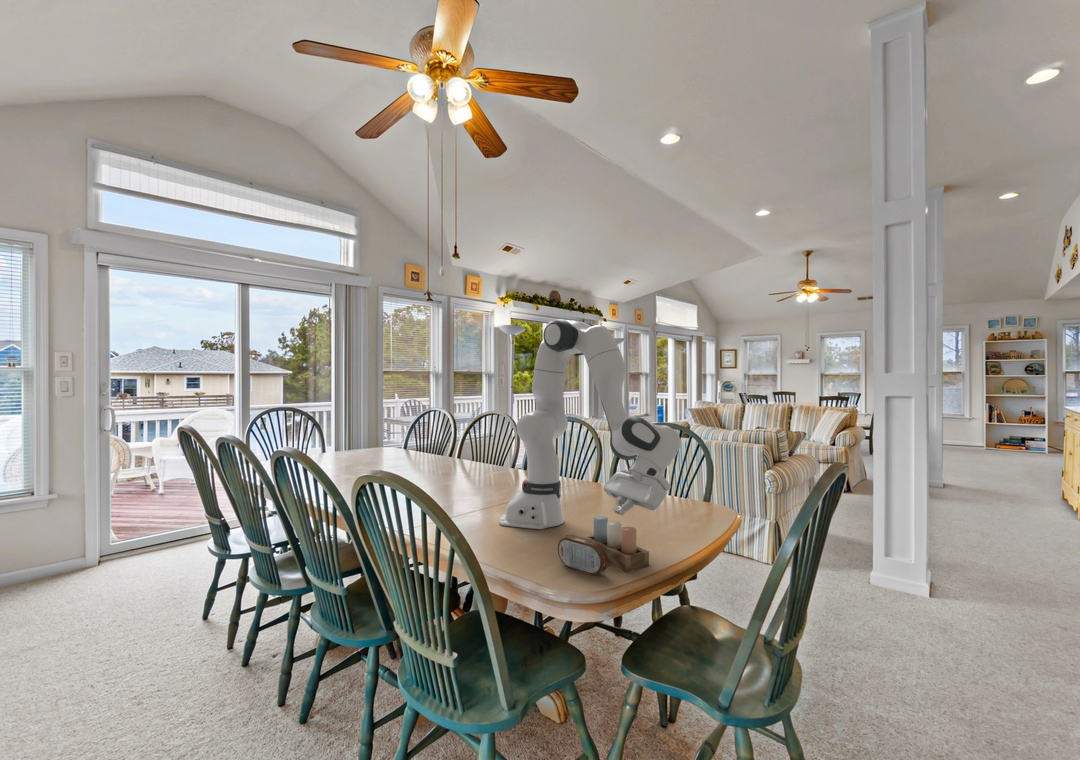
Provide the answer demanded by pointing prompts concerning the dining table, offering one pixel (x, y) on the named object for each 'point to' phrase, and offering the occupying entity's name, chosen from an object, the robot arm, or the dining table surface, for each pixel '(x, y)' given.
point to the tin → (582, 554)
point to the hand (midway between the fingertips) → (617, 513)
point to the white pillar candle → (614, 534)
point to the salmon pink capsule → (628, 540)
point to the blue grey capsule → (600, 528)
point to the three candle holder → (625, 557)
